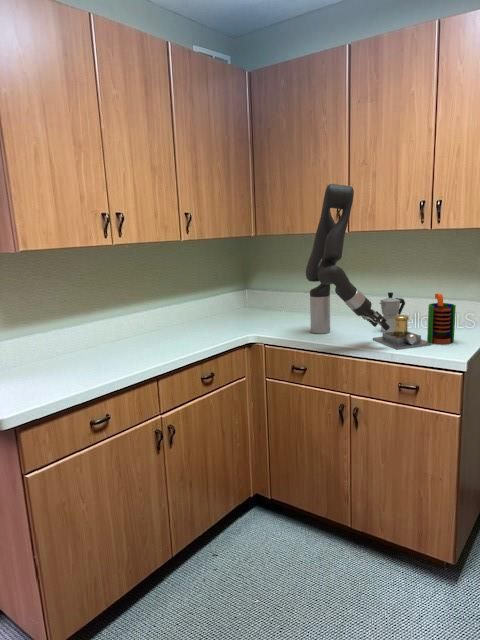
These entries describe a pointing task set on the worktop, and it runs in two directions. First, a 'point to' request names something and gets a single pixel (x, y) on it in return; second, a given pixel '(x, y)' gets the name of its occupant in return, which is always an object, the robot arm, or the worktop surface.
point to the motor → (441, 322)
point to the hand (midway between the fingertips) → (382, 327)
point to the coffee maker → (391, 310)
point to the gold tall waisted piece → (401, 325)
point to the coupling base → (402, 341)
